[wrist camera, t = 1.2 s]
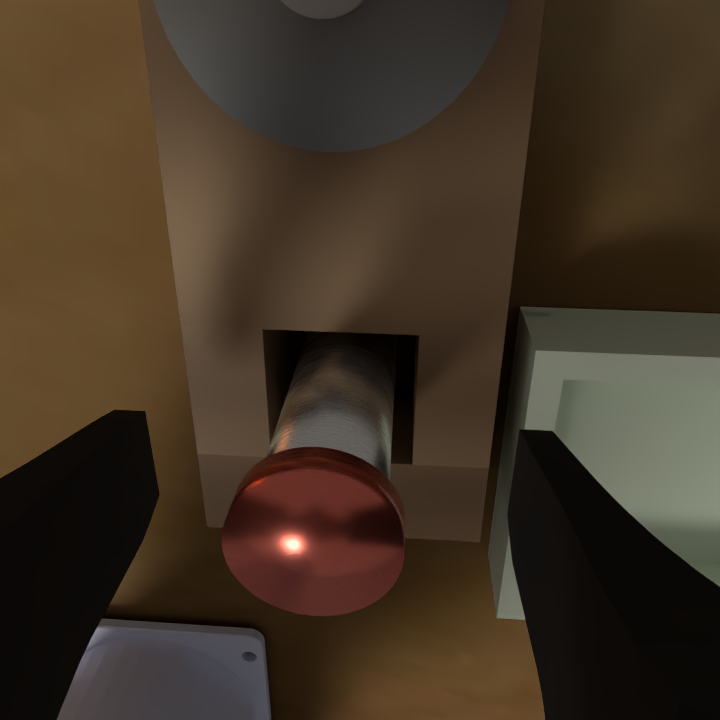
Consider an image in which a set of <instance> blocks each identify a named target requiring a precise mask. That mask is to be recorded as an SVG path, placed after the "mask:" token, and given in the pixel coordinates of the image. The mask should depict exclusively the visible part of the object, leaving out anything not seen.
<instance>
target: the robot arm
mask: <svg viewBox="0 0 720 720" xmlns="http://www.w3.org/2000/svg"><path fill="white" fill-rule="evenodd" d="M158 497H159V489H158V484H157V478H156V472H155V466H154V460H153V454H152V448H151V443H150V437H149V431H148V425H147V419H146V413H145V411H129V410H114V411H112V412H110V413H108V414H106V415H104V416H102V417H101V418H99V419H97V420H96V421H94V422H92V423H91V424H89V425H87V426H86V427H84V428H83V429H81V430H79V431H78V432H76V433H75V434H73V435H71V436H70V437H68V438H67V439H65V440H63V441H62V442H60V443H59V444H57V445H55V446H54V447H52V448H51V449H49V450H47V451H46V452H44V453H43V454H41V455H39V456H38V457H36V458H34V459H33V460H31V461H30V462H28V463H26V464H25V465H23V466H21V467H19V468H18V469H16V470H14V471H12V472H11V473H9V474H7V475H5V476H4V477H2V478H0V720H271V708H270V697H269V685H268V673H267V662H266V650H265V639H264V636H263V635H262V634H261V633H260V632H259V631H257V630H255V629H251V628H238V627H223V626H208V625H193V624H178V623H163V622H148V621H133V620H118V619H103V618H102V617H103V615H104V614H105V612H106V610H107V608H108V606H109V604H110V602H111V600H112V598H113V597H114V595H115V593H116V591H117V589H118V587H119V585H120V583H121V582H122V580H123V578H124V576H125V574H126V572H127V570H128V568H129V566H130V564H131V563H132V561H133V559H134V557H135V555H136V553H137V551H138V549H139V547H140V545H141V543H142V541H143V539H144V536H145V534H146V531H147V528H148V526H149V523H150V521H151V518H152V515H153V512H154V509H155V506H156V503H157V500H158ZM507 517H508V528H509V538H510V547H511V556H512V563H513V568H514V572H515V577H516V581H517V586H518V590H519V594H520V599H521V603H522V607H523V611H524V615H525V620H526V624H527V628H528V632H529V636H530V641H531V645H532V649H533V653H534V658H535V662H536V666H537V670H538V676H539V681H540V686H541V691H542V697H543V705H544V712H545V720H720V586H718V585H717V584H715V583H714V582H712V581H711V580H710V579H708V578H707V577H705V576H704V575H703V574H701V573H700V572H699V571H697V570H696V569H695V568H693V567H692V566H691V565H690V564H688V563H687V562H686V561H684V560H683V559H682V558H681V557H679V556H678V555H677V554H676V553H674V552H673V551H672V550H670V549H669V548H668V547H667V546H665V545H664V544H663V543H662V542H661V541H660V540H658V539H657V538H656V537H655V536H654V535H653V534H651V533H650V532H649V531H648V530H647V529H646V528H645V527H644V526H643V525H642V524H640V523H639V522H638V521H637V520H636V519H635V518H634V517H633V516H632V515H631V514H630V513H628V512H627V511H626V510H625V509H624V508H623V507H622V506H621V505H620V504H619V503H618V502H617V501H616V500H615V499H614V498H613V497H612V496H611V495H610V494H609V493H608V492H607V491H606V490H605V488H604V487H603V486H602V485H601V484H600V483H599V482H598V481H597V480H596V479H595V478H594V477H593V476H592V475H591V474H590V472H589V471H588V470H587V469H586V468H585V467H584V466H583V465H582V463H581V462H580V461H579V460H578V459H577V458H576V457H575V456H574V454H573V453H572V452H571V451H570V450H569V449H568V448H567V446H566V445H565V444H564V443H563V442H562V441H561V440H560V439H559V437H558V436H557V435H556V434H555V433H554V432H553V431H547V430H527V429H519V435H518V442H517V449H516V456H515V463H514V470H513V477H512V484H511V491H510V498H509V505H508V512H507Z"/></svg>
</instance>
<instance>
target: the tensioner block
mask: <svg viewBox="0 0 720 720" xmlns="http://www.w3.org/2000/svg"><path fill="white" fill-rule="evenodd" d="M545 1H546V0H139V7H140V15H141V23H142V31H143V38H144V46H145V54H146V61H147V69H148V77H149V85H150V92H151V100H152V108H153V115H154V123H155V131H156V138H157V146H158V154H159V162H160V169H161V177H162V185H163V192H164V200H165V208H166V216H167V223H168V231H169V239H170V246H171V254H172V262H173V270H174V277H175V285H176V293H177V300H178V308H179V316H180V323H181V331H182V339H183V347H184V354H185V362H186V370H187V377H188V385H189V393H190V401H191V408H192V416H193V424H194V431H195V439H196V447H197V455H198V462H199V470H200V478H201V485H202V493H203V501H204V508H205V516H206V524H207V527H219V528H223V525H224V522H225V519H226V517H227V514H228V511H229V509H230V506H231V503H232V501H233V498H234V495H235V493H236V490H237V487H238V485H239V484H240V482H241V480H242V478H243V477H244V476H245V474H246V473H247V472H248V471H249V470H250V469H251V468H252V467H253V466H254V465H255V464H257V463H258V462H260V461H261V460H262V459H264V458H266V456H267V453H268V450H269V447H270V444H271V441H272V438H273V435H274V432H275V429H276V426H277V423H278V420H279V417H280V414H281V411H282V408H283V405H284V402H285V399H286V396H287V393H288V390H289V387H290V384H291V374H290V353H289V332H288V330H295V331H321V332H347V333H373V334H399V335H416V347H415V366H414V385H413V400H409V399H394V408H393V427H392V447H391V466H390V482H391V483H392V484H393V486H394V487H395V489H396V490H397V492H398V494H399V496H400V498H401V501H402V504H403V508H404V513H405V538H412V539H429V540H447V541H464V542H480V538H481V530H482V521H483V513H484V505H485V496H486V488H487V480H488V472H489V463H490V455H491V447H492V439H493V430H494V422H495V414H496V406H497V397H498V389H499V381H500V373H501V364H502V356H503V348H504V339H505V331H506V323H507V315H508V306H509V298H510V290H511V282H512V273H513V265H514V257H515V249H516V240H517V232H518V224H519V215H520V207H521V199H522V191H523V182H524V174H525V166H526V158H527V149H528V141H529V133H530V125H531V116H532V108H533V100H534V92H535V83H536V75H537V67H538V58H539V50H540V42H541V34H542V25H543V17H544V9H545Z"/></svg>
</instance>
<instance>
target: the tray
mask: <svg viewBox="0 0 720 720" xmlns="http://www.w3.org/2000/svg"><path fill="white" fill-rule="evenodd" d="M519 429H527V430H547V431H553V432H554V433H555V434H556V435H557V436H558V437H559V439H560V440H561V441H562V442H563V443H564V444H565V445H566V446H567V448H568V449H569V450H570V451H571V452H572V453H573V454H574V456H575V457H576V458H577V459H578V460H579V461H580V462H581V463H582V465H583V466H584V467H585V468H586V469H587V470H588V471H589V472H590V474H591V475H592V476H593V477H594V478H595V479H596V480H597V481H598V482H599V483H600V484H601V485H602V486H603V487H604V488H605V490H606V491H607V492H608V493H609V494H610V495H611V496H612V497H613V498H614V499H615V500H616V501H617V502H618V503H619V504H620V505H621V506H622V507H623V508H624V509H625V510H626V511H627V512H628V513H630V514H631V515H632V516H633V517H634V518H635V519H636V520H637V521H638V522H639V523H640V524H642V525H643V526H644V527H645V528H646V529H647V530H648V531H649V532H650V533H651V534H653V535H654V536H655V537H656V538H657V539H658V540H660V541H661V542H662V543H663V544H664V545H665V546H667V547H668V548H669V549H670V550H672V551H673V552H674V553H676V554H677V555H678V556H679V557H681V558H682V559H683V560H684V561H686V562H687V563H688V564H690V565H691V566H692V567H693V568H695V569H696V570H697V571H699V572H700V573H701V574H703V575H704V576H705V577H707V578H708V579H710V580H711V581H712V582H714V583H715V584H717V585H718V586H720V314H718V313H690V312H661V311H633V310H604V309H576V308H548V307H520V310H519V318H518V326H517V334H516V341H515V349H514V357H513V364H512V372H511V380H510V388H509V395H508V403H507V411H506V418H505V426H504V434H503V441H502V449H501V457H500V465H499V472H498V480H497V488H496V495H495V503H494V511H493V519H492V526H491V534H490V542H489V549H488V558H489V565H490V573H491V580H492V587H493V595H494V602H495V609H496V617H497V618H504V619H520V620H525V615H524V611H523V607H522V603H521V599H520V594H519V590H518V586H517V581H516V577H515V572H514V568H513V563H512V556H511V547H510V538H509V528H508V517H507V512H508V505H509V498H510V491H511V484H512V477H513V470H514V463H515V456H516V449H517V442H518V435H519Z"/></svg>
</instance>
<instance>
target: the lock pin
mask: <svg viewBox="0 0 720 720" xmlns="http://www.w3.org/2000/svg"><path fill="white" fill-rule="evenodd" d="M396 349H397V338H396V334H373V333H347V332H321V331H308V333H307V336H306V339H305V342H304V345H303V348H302V351H301V354H300V357H299V360H298V363H297V366H296V369H295V372H294V375H293V378H292V381H291V384H290V387H289V390H288V393H287V396H286V399H285V402H284V405H283V408H282V411H281V414H280V417H279V420H278V423H277V426H276V429H275V432H274V435H273V438H272V441H271V444H270V447H269V450H268V453H267V456H266V458H264V459H262V460H261V461H260V462H258V463H257V464H255V465H254V466H253V467H252V468H251V469H250V470H249V471H248V472H247V473H246V474H245V476H244V477H243V478H242V480H241V482H240V484H239V485H238V487H237V490H236V493H235V495H234V498H233V501H232V503H231V506H230V509H229V511H228V514H227V517H226V519H225V522H224V525H223V530H222V549H223V554H224V557H225V560H226V563H227V565H228V566H229V568H230V570H231V572H232V573H233V575H234V576H235V577H236V579H237V580H238V581H239V582H240V583H241V584H242V585H243V586H244V587H245V588H246V589H247V590H248V591H250V592H251V593H252V594H253V595H255V596H256V597H258V598H259V599H261V600H263V601H264V602H266V603H268V604H270V605H272V606H275V607H277V608H280V609H282V610H286V611H289V612H292V613H297V614H302V615H310V616H335V615H342V614H347V613H351V612H354V611H358V610H360V609H363V608H365V607H367V606H369V605H371V604H373V603H375V602H376V601H378V600H379V599H380V598H382V597H383V596H384V595H385V594H386V593H387V592H388V591H389V590H390V589H391V588H392V587H393V585H394V584H395V583H396V581H397V579H398V578H399V576H400V574H401V571H402V568H403V563H404V556H405V513H404V508H403V504H402V501H401V498H400V496H399V494H398V492H397V490H396V489H395V487H394V486H393V484H392V483H391V482H390V466H391V447H392V427H393V408H394V388H395V369H396Z"/></svg>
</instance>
